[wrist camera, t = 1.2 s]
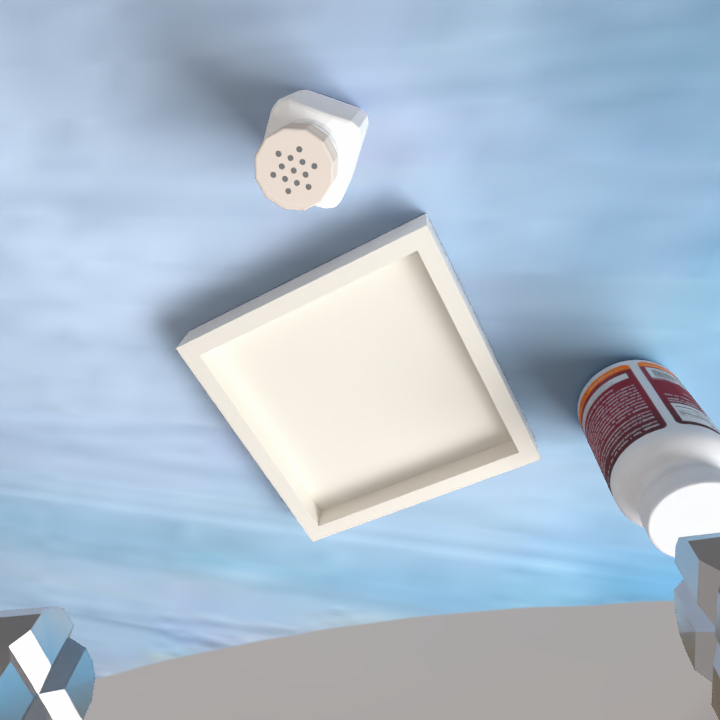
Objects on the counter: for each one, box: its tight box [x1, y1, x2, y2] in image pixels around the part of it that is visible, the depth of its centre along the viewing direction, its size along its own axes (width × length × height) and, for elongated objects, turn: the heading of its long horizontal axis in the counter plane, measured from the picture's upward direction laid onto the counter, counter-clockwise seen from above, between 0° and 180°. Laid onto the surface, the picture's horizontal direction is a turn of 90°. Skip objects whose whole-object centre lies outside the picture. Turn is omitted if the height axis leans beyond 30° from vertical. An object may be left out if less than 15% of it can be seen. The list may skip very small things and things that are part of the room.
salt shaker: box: [255, 90, 368, 210], centre depth 29 cm, size 4×4×10 cm
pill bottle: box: [578, 360, 720, 557], centre depth 34 cm, size 6×6×11 cm
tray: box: [176, 213, 541, 541], centre depth 39 cm, size 16×16×2 cm
